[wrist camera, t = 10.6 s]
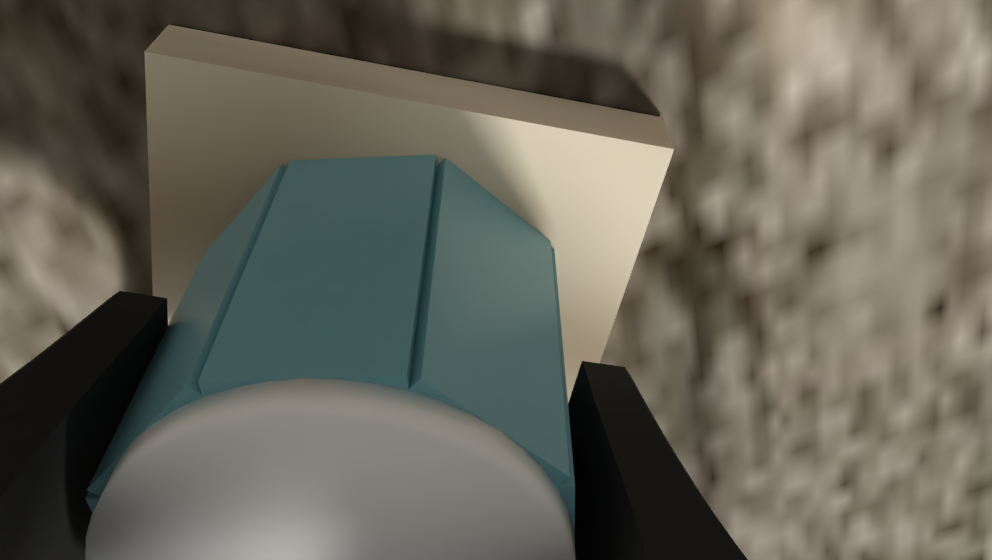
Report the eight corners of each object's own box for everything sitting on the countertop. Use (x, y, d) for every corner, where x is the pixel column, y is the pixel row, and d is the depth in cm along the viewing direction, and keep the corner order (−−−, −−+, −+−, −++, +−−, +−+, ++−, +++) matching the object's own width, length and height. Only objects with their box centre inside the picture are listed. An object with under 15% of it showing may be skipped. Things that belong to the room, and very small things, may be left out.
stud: (551, 451, 17) (566, 675, 13) (175, 397, 16) (78, 618, 12) (662, 117, 13) (726, 305, 9) (168, 24, 12) (21, 188, 8)
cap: (625, 301, 13) (679, 582, 9) (409, 474, 16) (377, 762, 12) (352, 82, 11) (268, 321, 7) (148, 316, 14) (-2, 599, 10)
